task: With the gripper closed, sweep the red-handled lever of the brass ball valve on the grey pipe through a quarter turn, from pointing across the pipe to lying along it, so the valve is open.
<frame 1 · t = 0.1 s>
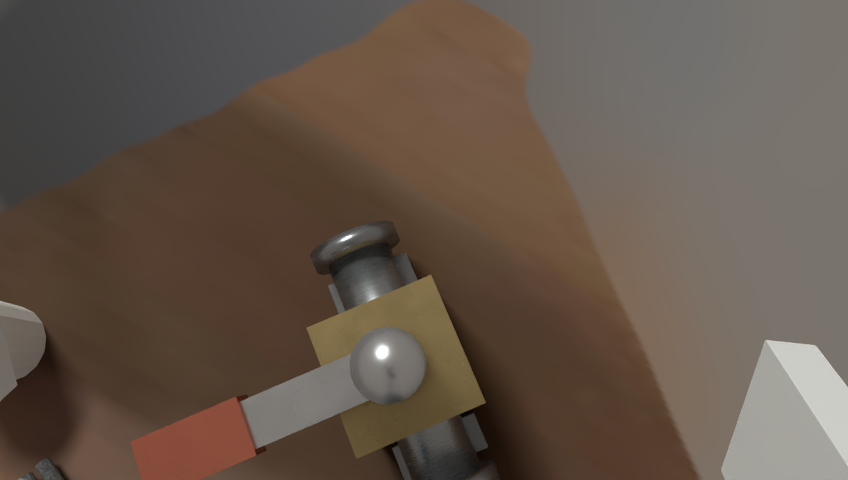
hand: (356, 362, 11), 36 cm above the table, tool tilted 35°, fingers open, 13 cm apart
pipe valve: (407, 363, 46), on the table
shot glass: (11, 343, 49), on the table
lever: (285, 409, 35), point 12 cm above the table, hinge at 0.0°
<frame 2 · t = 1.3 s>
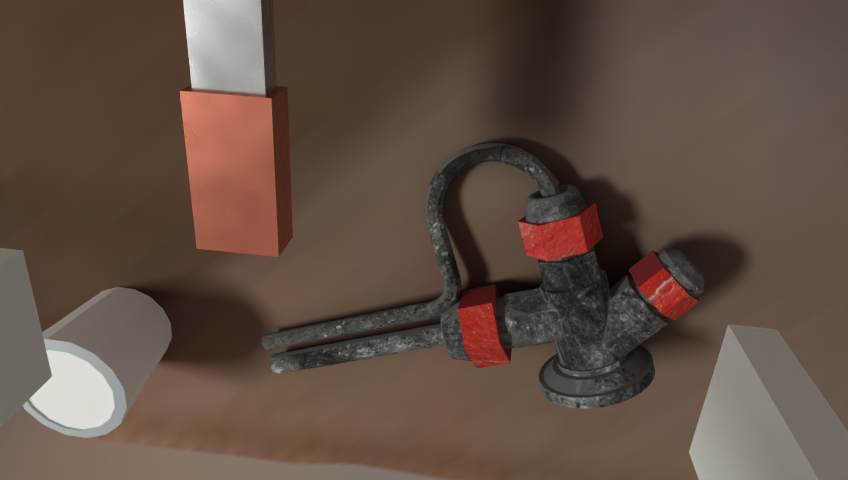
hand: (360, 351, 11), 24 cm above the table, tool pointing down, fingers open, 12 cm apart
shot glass: (132, 322, 43), on the table
lever: (231, 29, 22), point 12 cm above the table, hinge at 0.0°
valve: (459, 268, 39), on the table
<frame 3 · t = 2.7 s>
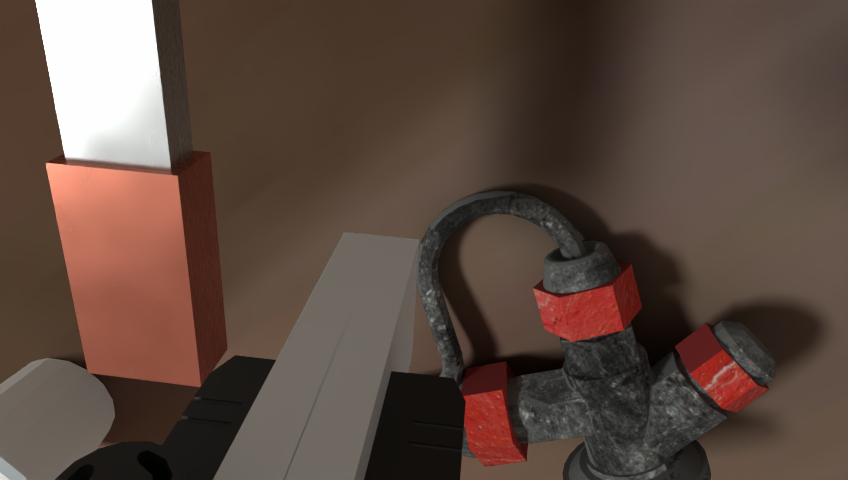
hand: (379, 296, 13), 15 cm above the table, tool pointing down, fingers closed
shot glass: (68, 398, 36), on the table
lever: (119, 74, 15), point 12 cm above the table, hinge at 0.0°
valve: (461, 339, 32), on the table
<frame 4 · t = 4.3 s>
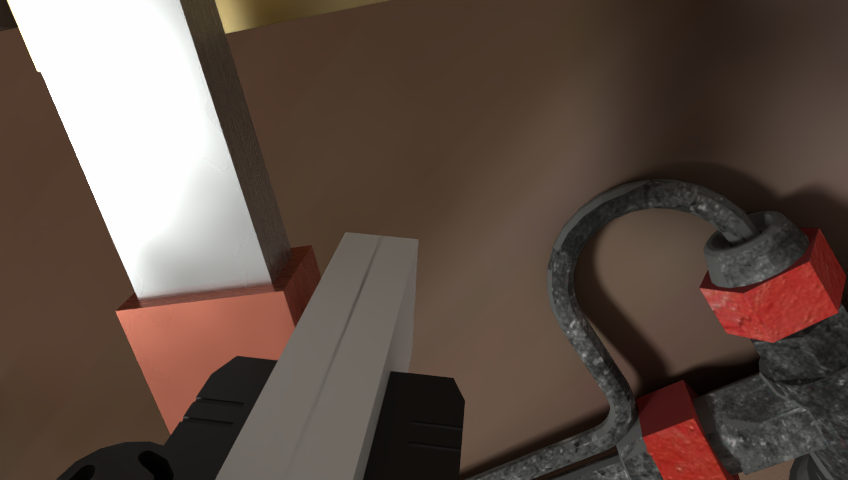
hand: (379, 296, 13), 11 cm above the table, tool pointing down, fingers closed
lever: (181, 176, 11), point 12 cm above the table, hinge at 0.1°, touching gripper
valve: (619, 365, 27), on the table
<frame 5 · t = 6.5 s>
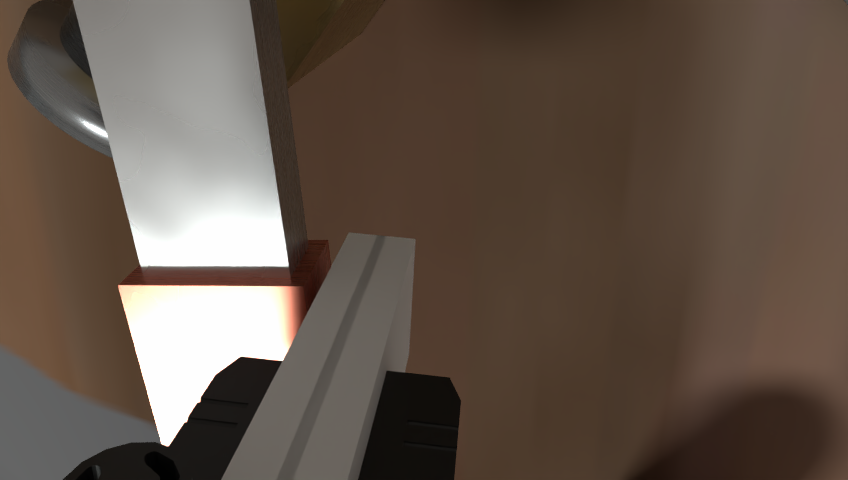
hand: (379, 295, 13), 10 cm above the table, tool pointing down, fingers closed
lever: (208, 153, 11), point 12 cm above the table, hinge at 49.4°, touching gripper
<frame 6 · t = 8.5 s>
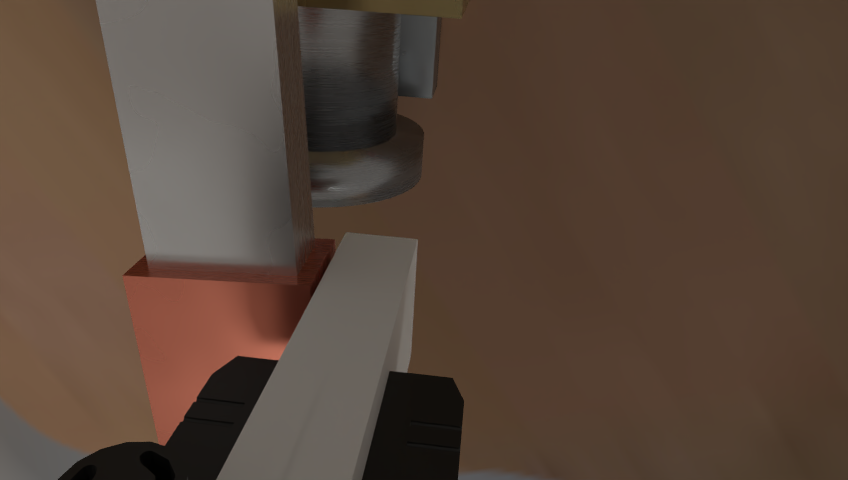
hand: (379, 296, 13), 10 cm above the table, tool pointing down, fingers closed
lever: (220, 147, 11), point 12 cm above the table, hinge at 86.8°, touching gripper
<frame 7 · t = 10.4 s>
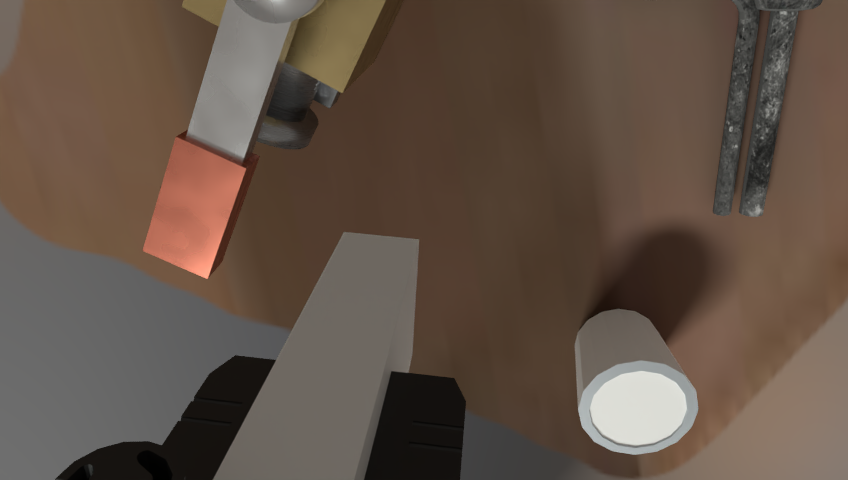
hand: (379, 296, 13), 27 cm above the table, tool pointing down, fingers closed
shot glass: (616, 342, 45), on the table
lever: (232, 106, 28), point 12 cm above the table, hinge at 86.9°
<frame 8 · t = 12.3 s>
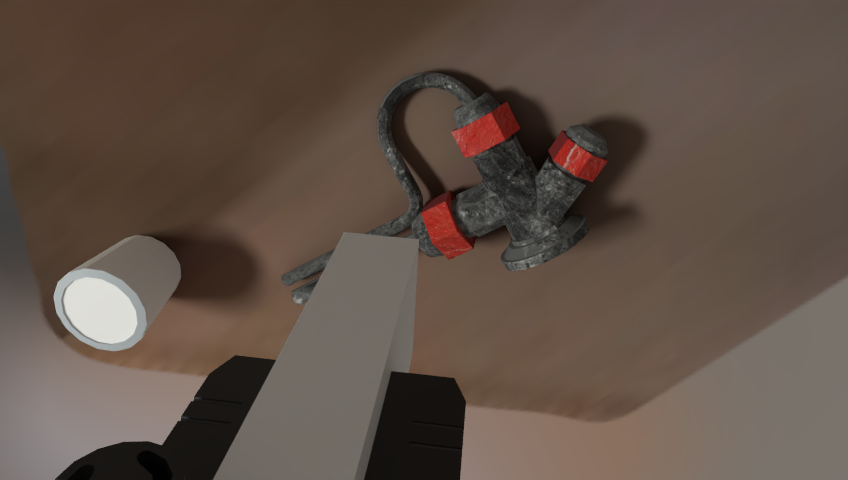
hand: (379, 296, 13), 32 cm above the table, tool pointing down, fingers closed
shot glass: (148, 265, 52), on the table
valve: (421, 186, 47), on the table
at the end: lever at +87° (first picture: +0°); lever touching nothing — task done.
